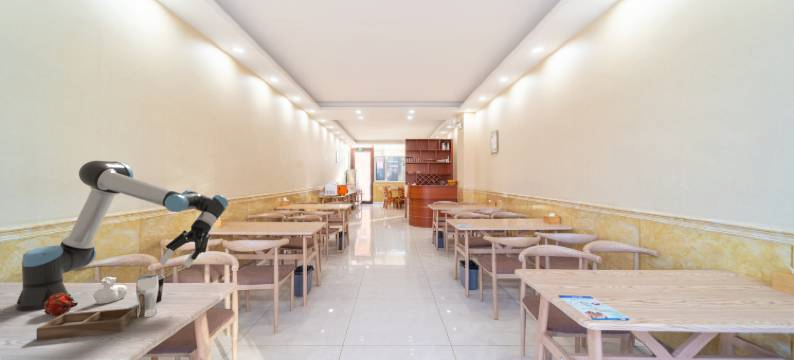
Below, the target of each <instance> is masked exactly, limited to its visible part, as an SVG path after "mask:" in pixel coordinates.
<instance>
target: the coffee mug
mask: <svg viewBox="0 0 794 360" xmlns="http://www.w3.org/2000/svg"><path fill="white" fill-rule="evenodd" d="M164 281H165V276H164V275H158V283H159V288H158V295H157V300H156V304H157V303H161V301H162V297H163V289H164V288H163V287H164Z"/></svg>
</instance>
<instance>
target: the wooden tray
mask: <svg viewBox="0 0 794 360" xmlns="http://www.w3.org/2000/svg"><path fill="white" fill-rule="evenodd" d="M137 319H138V307H127V308H115V309H104V310H94V311H92V310H91V311H81V312H71V313H69V312H68V313H62V314H61V315H60V316H56V317H55V318H53V319H51V320H50V321H48V322H46V323H45V324H42V325H39V327H37V328H36V341H37V342H39V341H40V342H41V341H48V340H49V341H50V340H57V339H59V340H60V339H66V338H75V337H86V336H95V335H96V336H97V334H98V335H104V334H105V335H106V334H115V333H121V332H122V331H124V330H125V329H126V328H127V327H128V326H130V325H131V324H132V323H133V322H134V321H136V320H137ZM124 328H125V329H124Z"/></svg>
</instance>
